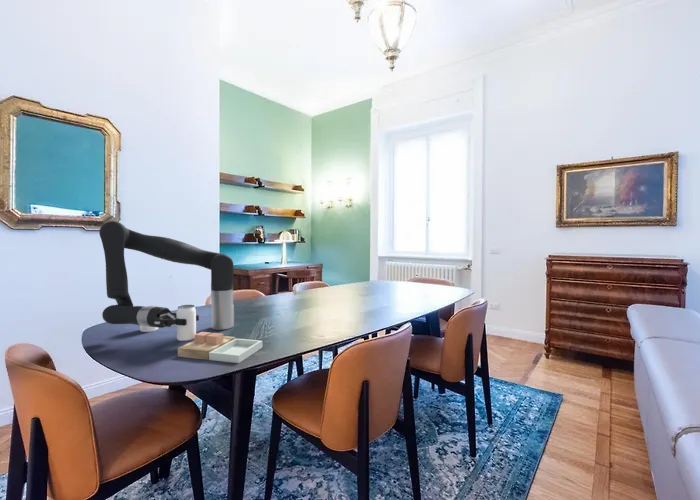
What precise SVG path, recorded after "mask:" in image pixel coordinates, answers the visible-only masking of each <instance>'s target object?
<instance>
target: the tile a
mask: <svg viewBox="0 0 700 500" xmlns="http://www.w3.org/2000/svg"><path fill="white" fill-rule="evenodd" d="M210 334H212V331H211V332H210V331H209V332H208V331H201V332H196V334H195V335H194V340H195V343H200V344H205V343H207V335H210Z"/></svg>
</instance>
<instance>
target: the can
mask: <svg viewBox="0 0 700 500" xmlns="http://www.w3.org/2000/svg"><path fill="white" fill-rule="evenodd" d="M175 312H176V319H177V318H178V319H186V320H187V324H186V325H185V326H183V325H175V327H176V329H175V331H176V340H177V341H179V342H188V341H193V340H195V338H194V335H195V334H197V321H196V315H197V310H196V307H195V305H193V304H181V305H179V306H177V309H176V311H175Z"/></svg>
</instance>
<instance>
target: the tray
mask: <svg viewBox="0 0 700 500" xmlns="http://www.w3.org/2000/svg"><path fill="white" fill-rule="evenodd" d="M261 349H263V340H257V339H247V338H236V337H235V339H234V340H232V341H230V342H228V343H226V344H224V345H222V346H220V347H219V348H217V349H215V350H213V351H211V352H209V360H208V361H215V362H216V361H218V362H225V363H233V364H235V363H236V364H240V363H241V362H242V361H244V360H246V359H248V358H249V357H250V356H252V355H253V354H255V353H256V352H258V351H259V350H261Z"/></svg>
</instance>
